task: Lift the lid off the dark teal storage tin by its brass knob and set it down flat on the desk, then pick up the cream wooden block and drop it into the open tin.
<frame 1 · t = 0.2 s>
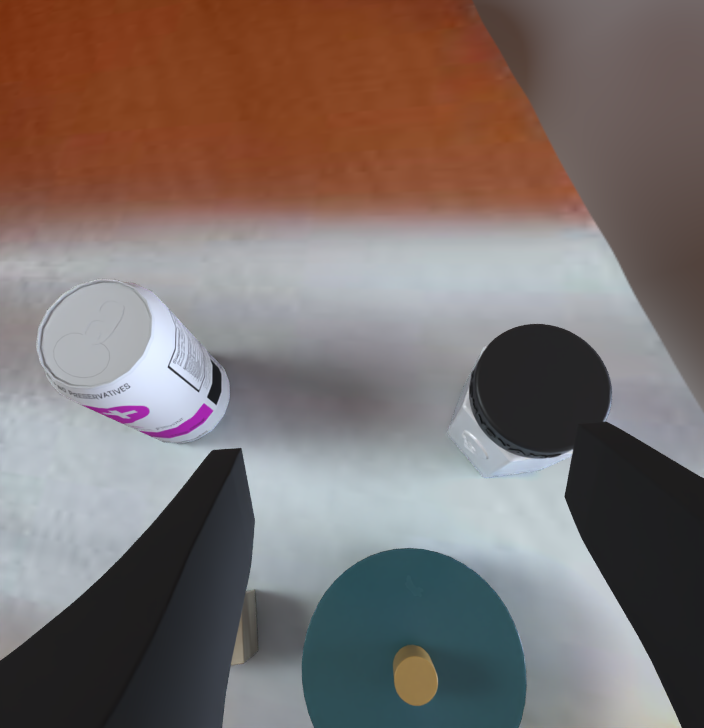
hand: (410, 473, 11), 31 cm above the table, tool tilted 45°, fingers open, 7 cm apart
lid: (412, 664, 32), point 6 cm above the table, touching tin
jar: (500, 427, 43), on the table
supplement can: (186, 398, 45), on the table
block: (229, 623, 39), on the table
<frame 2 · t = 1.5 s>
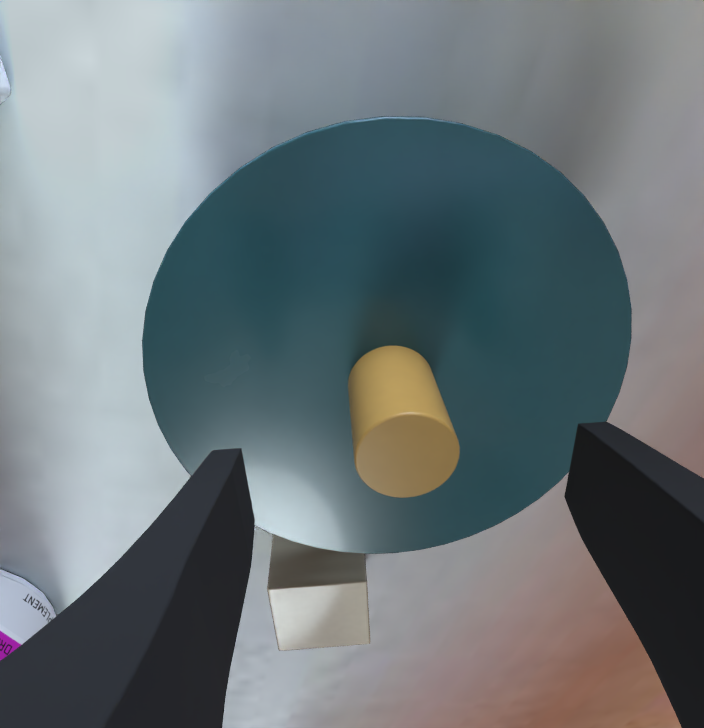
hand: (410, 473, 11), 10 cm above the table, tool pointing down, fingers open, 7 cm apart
lid: (388, 374, 15), point 6 cm above the table, touching tin
block: (321, 544, 27), on the table
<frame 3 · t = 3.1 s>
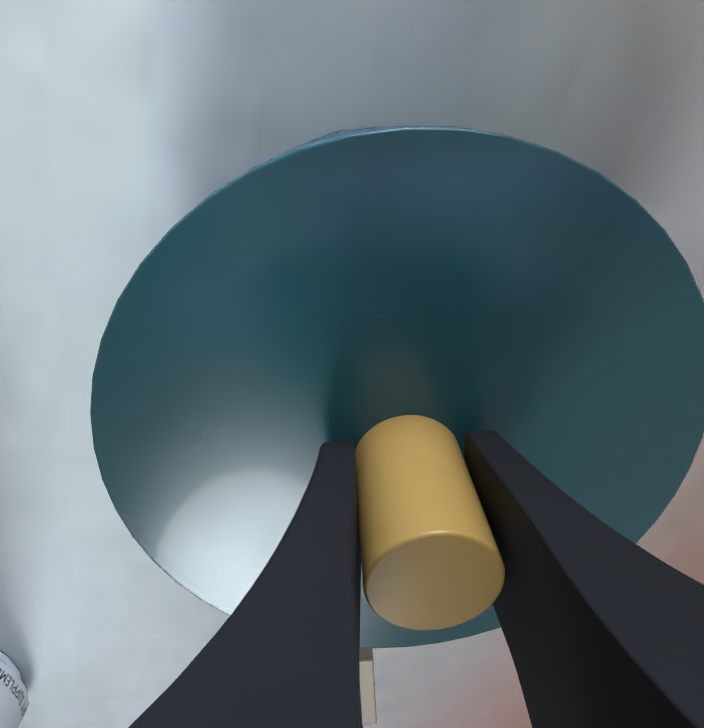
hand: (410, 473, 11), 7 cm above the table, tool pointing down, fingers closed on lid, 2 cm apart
lid: (403, 444, 12), point 6 cm above the table, touching gripper, tin
block: (320, 602, 24), on the table
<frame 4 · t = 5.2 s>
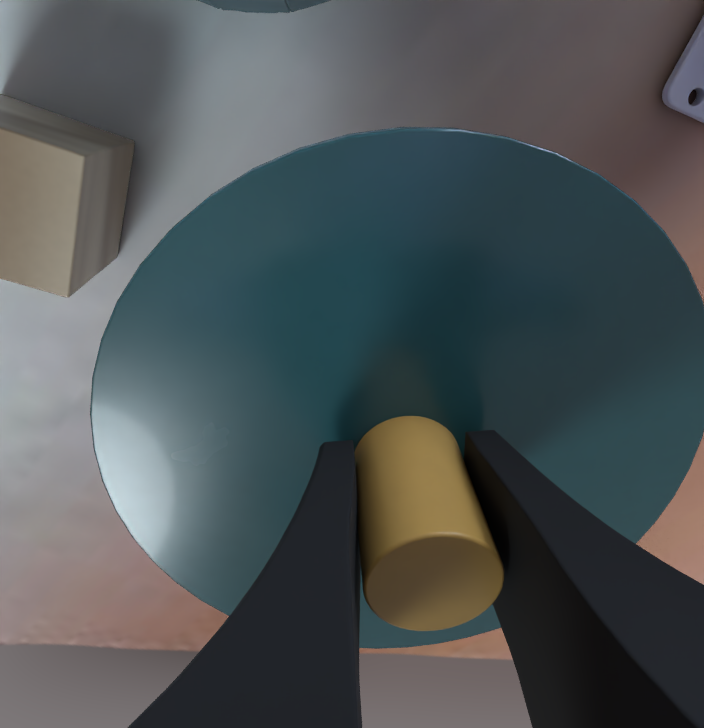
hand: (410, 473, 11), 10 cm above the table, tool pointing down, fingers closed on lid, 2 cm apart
lid: (402, 445, 12), point 9 cm above the table, touching gripper
block: (63, 181, 18), on the table
when the fingers open (2 cm above the table, at t = 7.7 s): lid stays where it is, point 1 cm above the table.
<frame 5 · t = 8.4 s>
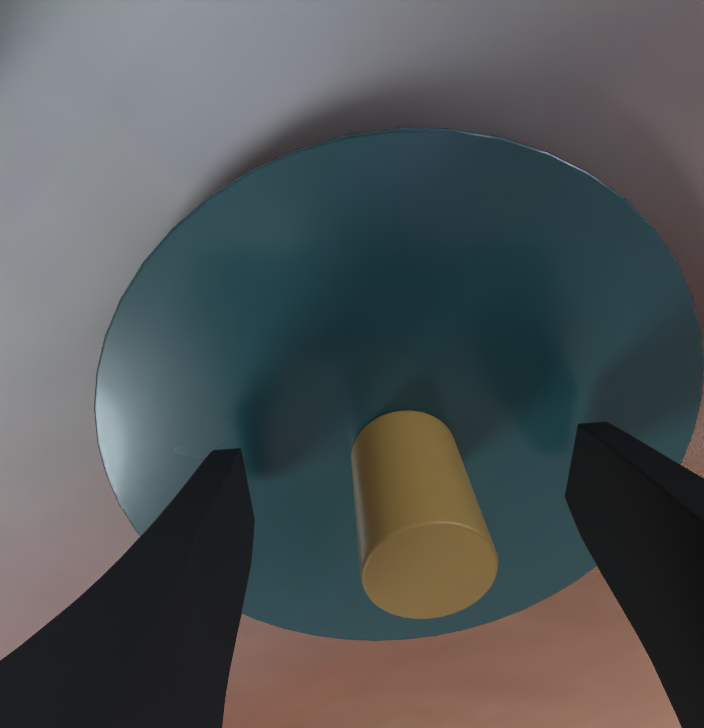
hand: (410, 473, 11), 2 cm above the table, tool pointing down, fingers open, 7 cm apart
lid: (400, 440, 12), point 1 cm above the table
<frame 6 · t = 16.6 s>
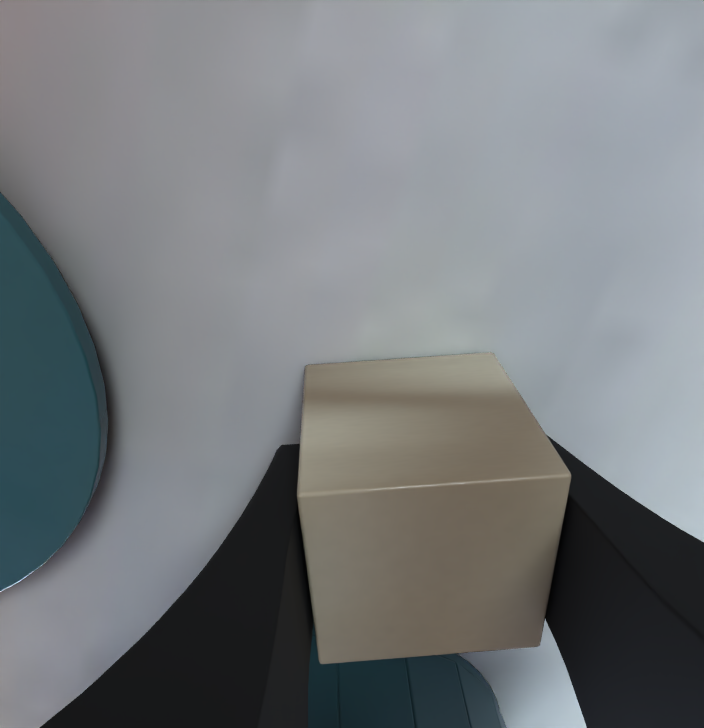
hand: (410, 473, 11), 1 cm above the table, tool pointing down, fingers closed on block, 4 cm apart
block: (400, 434, 13), on the table, touching gripper
when the fingers open (2 cm above the table, at t = 21.6 s): block stays where it is, resting on tin.
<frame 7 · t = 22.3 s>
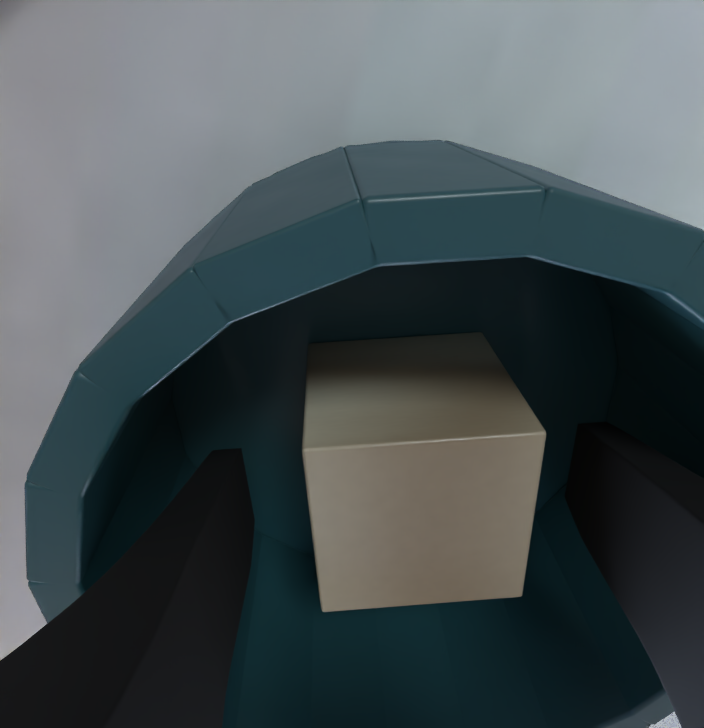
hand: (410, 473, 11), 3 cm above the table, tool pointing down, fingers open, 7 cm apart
block: (396, 410, 14), resting on tin
tin: (395, 401, 14), on the table
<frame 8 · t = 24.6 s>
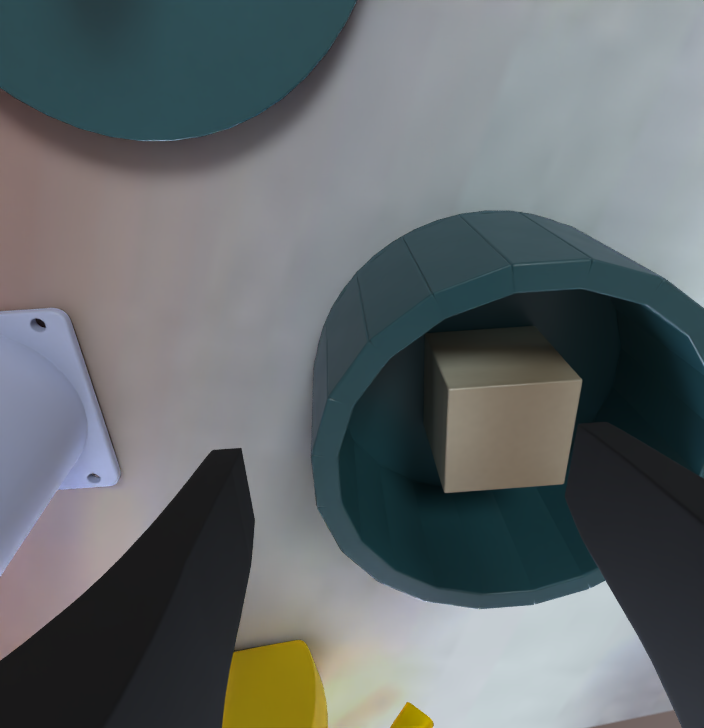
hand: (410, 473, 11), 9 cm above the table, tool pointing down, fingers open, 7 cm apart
figure statuette: (261, 662, 29), on the table
block: (476, 377, 21), resting on tin
tin: (474, 372, 21), on the table
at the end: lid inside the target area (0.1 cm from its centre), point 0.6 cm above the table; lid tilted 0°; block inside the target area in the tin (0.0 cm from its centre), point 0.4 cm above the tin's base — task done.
